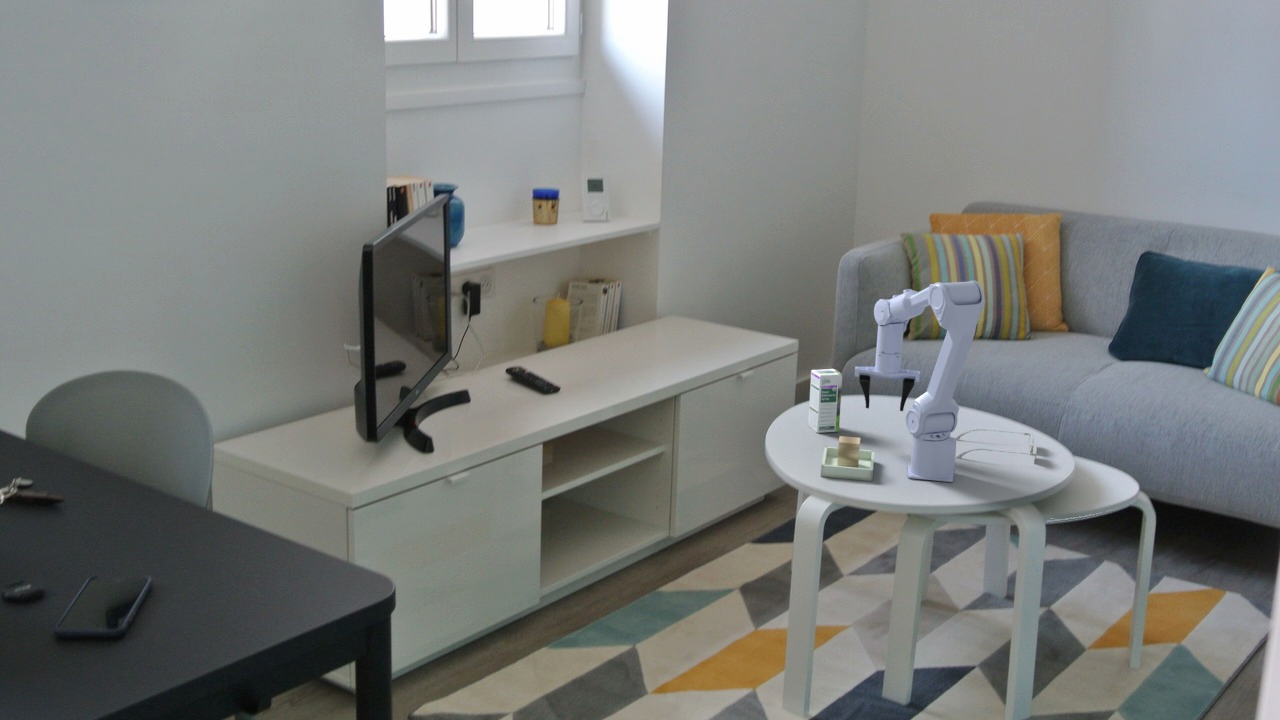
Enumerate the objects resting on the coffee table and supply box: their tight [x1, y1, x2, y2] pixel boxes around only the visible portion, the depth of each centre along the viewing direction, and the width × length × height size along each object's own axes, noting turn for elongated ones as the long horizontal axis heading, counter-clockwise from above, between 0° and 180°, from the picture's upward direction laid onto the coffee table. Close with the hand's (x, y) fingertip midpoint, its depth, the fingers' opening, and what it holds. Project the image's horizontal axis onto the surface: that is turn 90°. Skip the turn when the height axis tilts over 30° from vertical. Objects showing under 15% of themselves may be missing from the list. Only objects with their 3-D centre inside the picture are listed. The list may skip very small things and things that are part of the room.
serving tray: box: [820, 446, 875, 482], centre depth 277 cm, size 11×13×2 cm
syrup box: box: [807, 368, 843, 434], centre depth 303 cm, size 6×6×14 cm
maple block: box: [837, 435, 861, 468], centre depth 277 cm, size 4×4×6 cm
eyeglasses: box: [954, 428, 1038, 463], centre depth 291 cm, size 15×18×4 cm
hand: (884, 408), depth 290 cm, fingers open, 7 cm apart
